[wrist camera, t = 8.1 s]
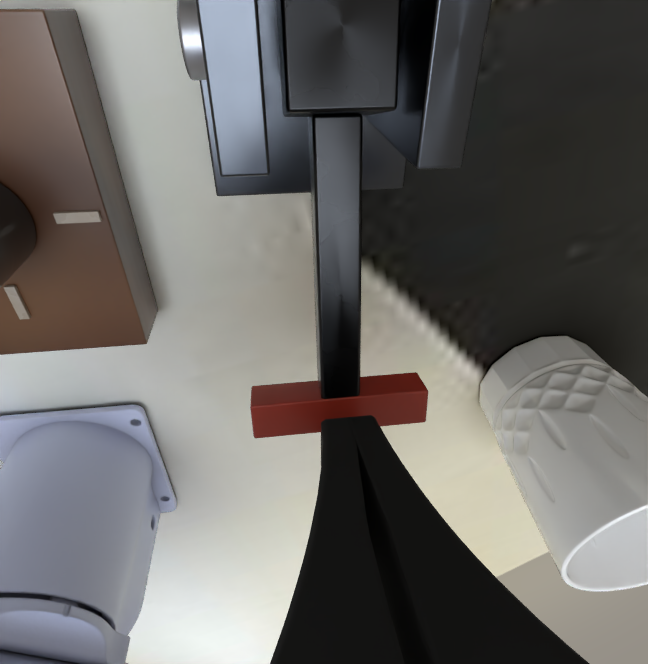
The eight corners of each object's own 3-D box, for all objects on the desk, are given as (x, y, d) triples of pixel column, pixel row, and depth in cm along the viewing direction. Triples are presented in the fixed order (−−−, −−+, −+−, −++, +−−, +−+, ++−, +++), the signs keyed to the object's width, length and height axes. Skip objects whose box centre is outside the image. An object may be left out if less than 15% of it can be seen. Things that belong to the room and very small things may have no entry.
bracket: (395, 179, 17) (479, 282, 11) (219, 186, 17) (193, 301, 10) (432, -204, 12) (668, -491, 5) (160, -216, 11) (8, -571, 4)
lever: (408, 390, 14) (433, 436, 12) (255, 404, 14) (253, 455, 12) (435, -27, 10) (483, -73, 8) (208, -28, 9) (190, -78, 7)
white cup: (508, 315, 22) (646, 484, 14) (629, 335, 24) (810, 493, 16) (446, 420, 27) (526, 593, 19) (553, 429, 29) (667, 591, 21)
